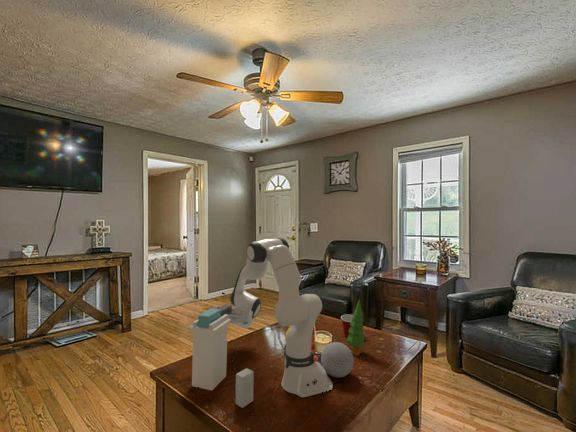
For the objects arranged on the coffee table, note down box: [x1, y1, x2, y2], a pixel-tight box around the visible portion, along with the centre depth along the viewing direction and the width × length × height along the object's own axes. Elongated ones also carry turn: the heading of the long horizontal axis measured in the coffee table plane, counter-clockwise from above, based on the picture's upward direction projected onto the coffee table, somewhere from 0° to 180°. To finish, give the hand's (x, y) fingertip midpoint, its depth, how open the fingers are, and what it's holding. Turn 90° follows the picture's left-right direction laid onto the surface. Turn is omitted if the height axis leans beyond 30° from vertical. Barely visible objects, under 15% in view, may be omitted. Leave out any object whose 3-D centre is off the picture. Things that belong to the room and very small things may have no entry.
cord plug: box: [197, 304, 233, 328], centre depth 137 cm, size 22×5×5 cm, turn 163°
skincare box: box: [235, 367, 255, 409], centre depth 117 cm, size 6×4×12 cm
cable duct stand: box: [189, 314, 231, 391], centre depth 132 cm, size 14×12×28 cm
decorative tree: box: [346, 298, 365, 355], centre depth 163 cm, size 10×9×30 cm
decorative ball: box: [320, 341, 355, 379], centre depth 139 cm, size 15×15×15 cm
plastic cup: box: [340, 314, 354, 339], centre depth 184 cm, size 11×11×12 cm
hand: (225, 309), depth 144 cm, fingers open, 8 cm apart
